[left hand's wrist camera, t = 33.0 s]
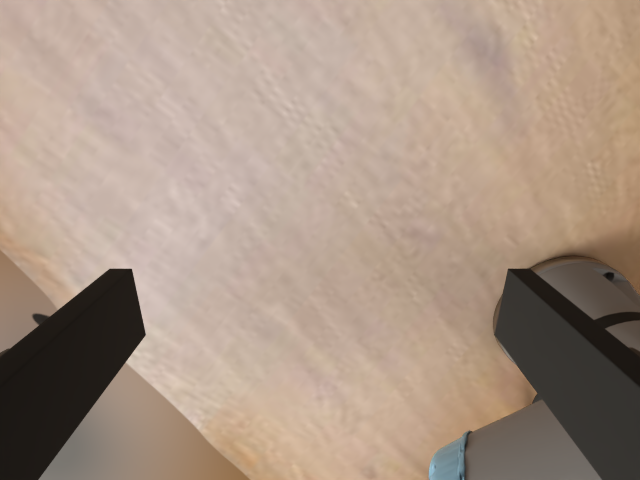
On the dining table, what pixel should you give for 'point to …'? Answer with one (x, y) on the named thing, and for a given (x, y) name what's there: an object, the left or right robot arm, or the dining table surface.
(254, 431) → the dining table surface
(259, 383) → the dining table surface
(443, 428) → the dining table surface
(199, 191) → the dining table surface
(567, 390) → the left robot arm
